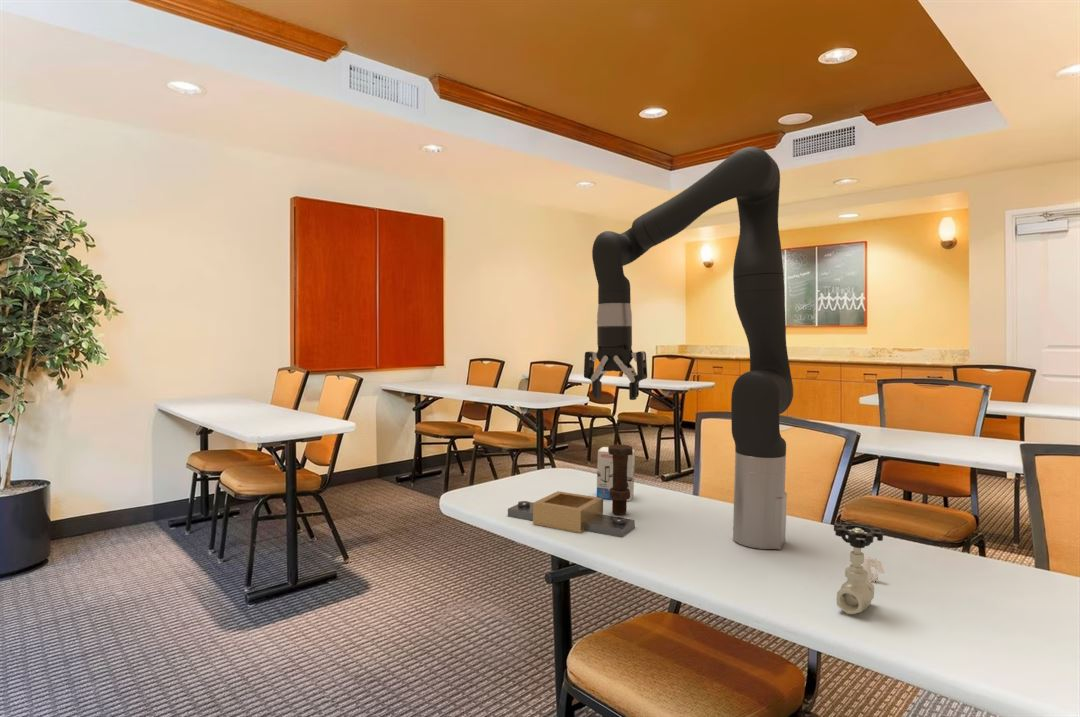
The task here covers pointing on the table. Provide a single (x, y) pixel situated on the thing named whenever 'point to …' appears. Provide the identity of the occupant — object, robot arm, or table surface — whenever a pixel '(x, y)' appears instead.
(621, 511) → the bolt
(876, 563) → the clip
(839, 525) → the valve
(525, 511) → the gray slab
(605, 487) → the ink box
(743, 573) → the table surface
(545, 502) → the square wooden frame
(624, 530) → the gray knob plate
